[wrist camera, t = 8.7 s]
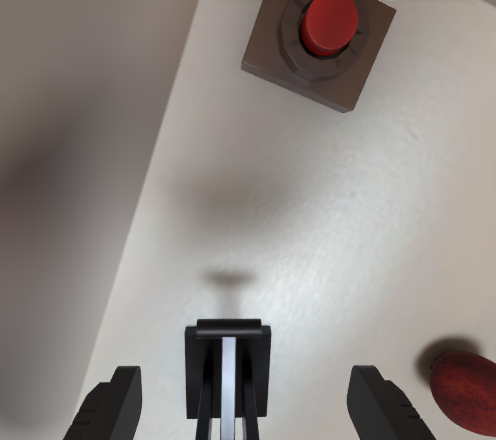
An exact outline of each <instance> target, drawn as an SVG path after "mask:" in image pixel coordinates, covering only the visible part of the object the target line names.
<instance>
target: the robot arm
mask: <svg viewBox="0 0 496 440" xmlns="http://www.w3.org/2000/svg"><path fill="white" fill-rule="evenodd" d="M347 407H348V412H349V415H350V418H351V420H352V422H353V424H354V427H355V429H356V431H357V433H358V436H359V438H360V440H436V438H435V437H434V436H433V434H432V433H431V431H430V430H429V428H428V427H427V425H426V424H425V423H424V421H423V420H422V419H421V418H420V415H419V414H418V412H417V411H416V409H415V408H414V407H412V404H411V402H410V401H409V399H408V398H407V396H406V395H405V394H404V392H403V391H402V390H401V389H400V388H398V387H397V386H396V385H395V384H394V383H393V382H391V381H390V380H384V379H383V377H382V376H381V374H380V372H379V371H378V369H377V368H376V367H375V366H373V365H355V366H353V368H352V371H351V377H350V382H349V388H348V394H347ZM141 408H142V385H141V369H140V366H118V367H117V368H116V370H115V372H114V374H113V377H112V379H111V381H110V382H100V383H99V384H98V385H97V386H96V387H95V388H94V389H93V390H92V391H91V392H90V393H89V394H87V396H86V398H85V400H84V401H83V403H82V405H81V407H80V409H79V412H78V413H77V414H76V416H75V418H74V420H73V422H72V425H71V426H70V427H69V429H68V431H67V433H66V435H65V437H64V439H63V440H133V438H134V435H135V432H136V429H137V425H138V422H139V419H140V414H141Z"/></svg>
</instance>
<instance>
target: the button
mask: <svg viewBox="0 0 496 440" xmlns="http://www.w3.org/2000/svg"><path fill="white" fill-rule="evenodd" d="M357 25H358V12H357V8H356V5H355V3H354V1H353V0H313V2H312V3H311V5H310V7H309V8H308V10H307V12H306V13H305V15H304V17H303V20H302V24H301V36H302V40H303V42H304V44H305V46H306V47H307V48H308V49H309V50H310V51H311V52H312V53H314V54H316V55H319V56H329V55H332V54H334V53H336V52H337V51H339V50H340V49H341V48H342V47H343V46H345V45H346V44H347V43H348V42H349V41H350V40H351V39H352V37H353V36H354V34H355V32H356V29H357Z"/></svg>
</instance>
